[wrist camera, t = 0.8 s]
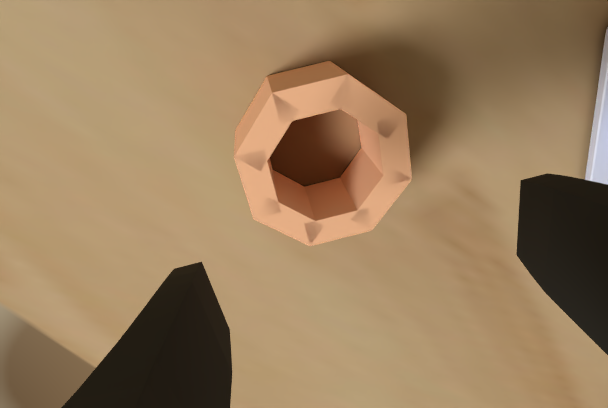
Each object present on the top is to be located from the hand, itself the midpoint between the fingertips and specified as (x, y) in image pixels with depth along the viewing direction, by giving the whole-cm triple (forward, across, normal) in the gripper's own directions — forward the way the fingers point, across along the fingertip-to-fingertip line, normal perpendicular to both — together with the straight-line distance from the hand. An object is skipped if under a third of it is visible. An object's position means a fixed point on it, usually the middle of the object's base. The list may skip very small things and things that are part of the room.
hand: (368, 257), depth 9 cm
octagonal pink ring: (+8, 0, 0) cm, 8 cm away
